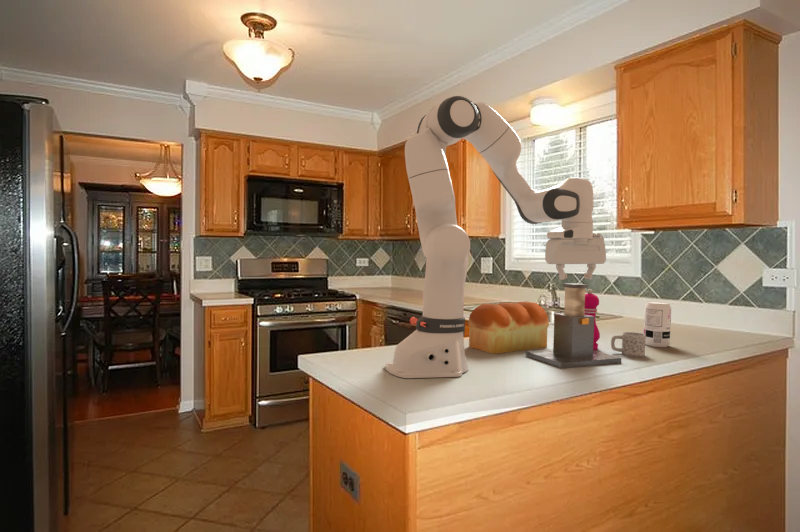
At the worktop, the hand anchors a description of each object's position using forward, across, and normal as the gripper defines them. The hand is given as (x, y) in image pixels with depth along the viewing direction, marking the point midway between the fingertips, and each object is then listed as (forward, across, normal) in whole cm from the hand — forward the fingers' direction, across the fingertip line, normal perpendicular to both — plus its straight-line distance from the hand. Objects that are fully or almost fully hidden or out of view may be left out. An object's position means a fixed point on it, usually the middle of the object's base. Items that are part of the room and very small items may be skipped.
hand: (575, 279), depth 147 cm
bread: (+24, +8, -22) cm, 34 cm away
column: (+22, 0, 0) cm, 22 cm away
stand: (+24, 0, 0) cm, 24 cm away
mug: (+25, -23, -1) cm, 33 cm away
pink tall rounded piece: (+24, -17, -12) cm, 32 cm away
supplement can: (+25, -45, -9) cm, 52 cm away
